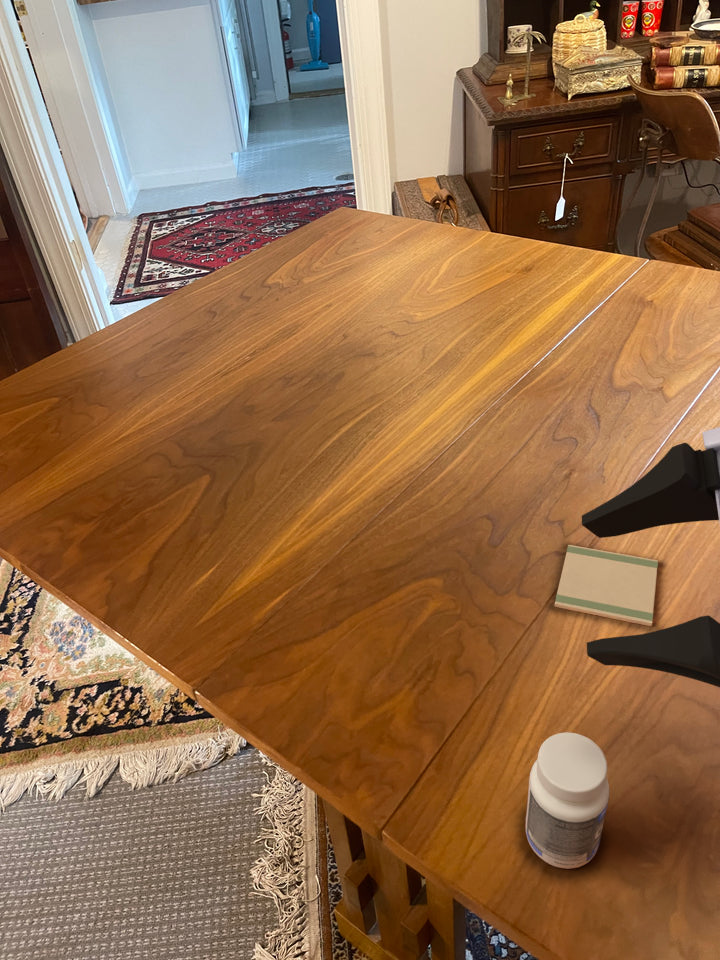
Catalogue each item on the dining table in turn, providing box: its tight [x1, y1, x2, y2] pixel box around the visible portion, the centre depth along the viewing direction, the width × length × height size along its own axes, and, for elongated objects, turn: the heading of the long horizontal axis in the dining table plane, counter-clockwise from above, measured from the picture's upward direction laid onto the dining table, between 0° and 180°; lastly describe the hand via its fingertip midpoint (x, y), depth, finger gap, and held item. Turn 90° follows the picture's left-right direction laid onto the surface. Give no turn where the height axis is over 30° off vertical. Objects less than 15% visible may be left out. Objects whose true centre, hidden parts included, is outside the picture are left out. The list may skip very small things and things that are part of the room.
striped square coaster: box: [554, 544, 659, 627], centre depth 66 cm, size 8×8×1 cm
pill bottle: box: [525, 731, 610, 869], centre depth 46 cm, size 5×5×8 cm
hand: (593, 587), depth 41 cm, fingers open, 7 cm apart
